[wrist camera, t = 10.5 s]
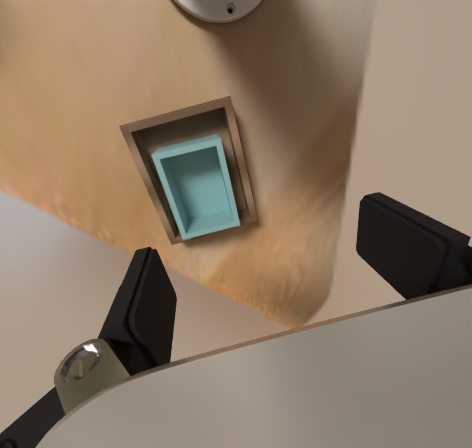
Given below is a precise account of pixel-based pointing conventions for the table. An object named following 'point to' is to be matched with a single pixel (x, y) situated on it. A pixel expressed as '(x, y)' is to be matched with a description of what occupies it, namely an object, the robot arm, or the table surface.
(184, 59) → the table surface
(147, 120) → the walnut crate
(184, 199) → the teal crate
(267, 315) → the table surface
